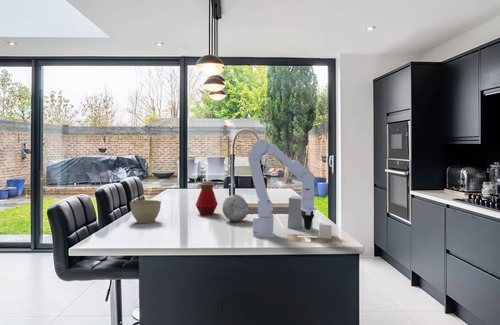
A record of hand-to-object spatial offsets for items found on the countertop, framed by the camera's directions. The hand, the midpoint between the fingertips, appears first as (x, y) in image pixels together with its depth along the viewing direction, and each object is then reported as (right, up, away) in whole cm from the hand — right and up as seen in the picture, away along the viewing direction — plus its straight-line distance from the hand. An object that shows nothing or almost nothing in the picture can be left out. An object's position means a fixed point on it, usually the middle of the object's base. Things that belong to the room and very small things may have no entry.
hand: (307, 228), depth 161 cm
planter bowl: (-83, -3, +33) cm, 89 cm away
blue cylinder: (0, -1, 0) cm, 1 cm away
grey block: (+8, -4, -1) cm, 9 cm away
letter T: (-1, -4, -4) cm, 6 cm away
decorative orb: (-34, -3, +36) cm, 50 cm away
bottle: (-52, -2, +58) cm, 78 cm away
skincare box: (-3, -4, +21) cm, 21 cm away
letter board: (+2, -4, -3) cm, 6 cm away
